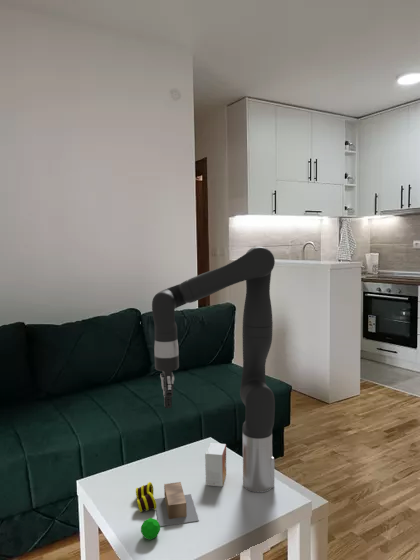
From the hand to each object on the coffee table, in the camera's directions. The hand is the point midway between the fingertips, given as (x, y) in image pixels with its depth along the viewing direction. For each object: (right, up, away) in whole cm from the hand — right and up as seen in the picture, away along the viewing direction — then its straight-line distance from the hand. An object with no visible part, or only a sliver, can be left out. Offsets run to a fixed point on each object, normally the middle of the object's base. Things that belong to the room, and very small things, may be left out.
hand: (168, 407), depth 139 cm
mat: (+3, -26, -13) cm, 29 cm away
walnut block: (+2, -23, -6) cm, 24 cm away
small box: (+15, -25, +3) cm, 29 cm away
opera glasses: (-6, -26, -9) cm, 28 cm away
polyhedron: (-2, -27, -24) cm, 36 cm away
